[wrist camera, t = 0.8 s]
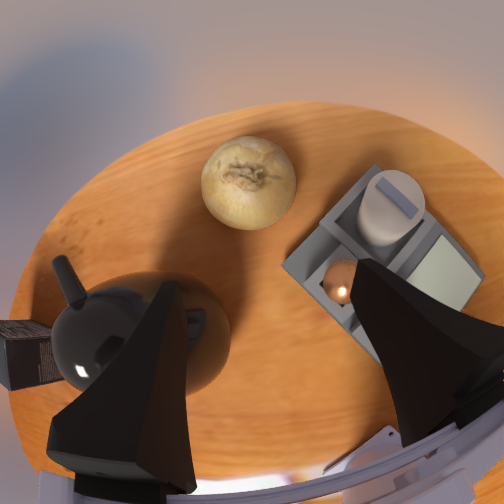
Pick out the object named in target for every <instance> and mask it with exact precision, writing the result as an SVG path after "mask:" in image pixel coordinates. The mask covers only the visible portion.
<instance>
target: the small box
mask: <svg viewBox="0 0 504 504" xmlns="http://www.w3.org/2000/svg"><path fill="white" fill-rule="evenodd" d="M51 331H52V328H51V327H48V326H45V325H43V324H40V323H38V322H35V321H33V320H0V383H1V384H2V385H3V386H4V387H5V388H7V389H8V390H9V391H10V392H11V391H16V390H21V389H26V388H31V387H36V386H40V385H45V384H50V383H54V382H58V381H63V380H65V379H64V378H63V376H62V375H61V374H60V372H59V371H58V369H57V367H56V365H55V363H54V360H53V357H52V353H51V346H50V337H51Z"/></svg>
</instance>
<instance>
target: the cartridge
mask: <svg viewBox="0 0 504 504" xmlns="http://www.w3.org/2000/svg"><path fill="white" fill-rule="evenodd" d="M424 211H425V198H424V194H423V192H422V190H421V188H420V186H419V184H418V183H417V182H416V181H415V180H414V179H413V178H412V177H411V176H409V175H408V174H406V173H404V172H401V171H397V170H386V171H382V172H380V173H378V174H376V175H375V176H374V177H373V178H372V179H371V180H370V182H369V184H368V186H367V188H366V191H365V194H364V197H363V199H362V202H361V205H360V207H359V210H358V213H357V216H356V221H355V224H356V230H357V232H358V235H359V236H360V238H361V239H362V240H363V241H364V242H365V243H366V244H368V245H369V246H371V247H374V248H386V247H389V246H391V245H392V244H394V243H395V242H396V241H398V240H399V239H400V238H401V237H402V236H404V235H405V234H406V233H407V232H409V231H410V230H411V229H412V228H413V227H415V226H416V225H417V224H418V223H419V222H420V220H421V219H422V217H423V214H424Z"/></svg>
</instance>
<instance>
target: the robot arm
mask: <svg viewBox="0 0 504 504" xmlns="http://www.w3.org/2000/svg"><path fill="white" fill-rule="evenodd" d="M349 297H350V300H351V303H352V305H353V308H354V311H355V313H356V316H357V318H358V320H359V322H360V324H361V325H362V327H363V329H364V331H365V333H366V335H367V337H368V339H369V341H370V342H371V344H372V346H373V348H374V350H375V352H376V354H377V356H378V358H379V360H380V362H381V365H382V367H383V370H384V373H385V376H386V378H387V381H388V384H389V388H390V391H391V394H392V398H393V401H394V405H395V409H396V414H397V418H398V424H399V429H400V433H398V432H397V431H396V430H395V429H394V428H393V427H392V426H391V425H387V426H385V427H384V428H383V429H381V430H380V431H379V432H378V433H377V434H375V435H374V436H373V437H372V438H370V439H369V440H368V441H367V442H365V443H364V444H363V445H361V446H360V447H359V448H357V449H356V450H355V451H353V452H352V453H351V454H349V455H348V456H346V457H345V458H344V459H342V460H341V461H339V462H338V463H336V464H335V465H333V466H332V467H330V468H329V469H327V470H326V471H324V472H323V477H321V478H317V479H313V480H309V481H305V482H301V483H296V484H291V485H286V486H281V487H275V488H269V489H263V490H255V491H247V492H238V493H227V494H211V495H178V494H191V493H193V492H194V491H195V490H196V488H197V484H196V479H195V474H194V468H193V462H192V456H191V449H190V441H189V432H188V423H187V411H186V370H187V354H188V324H187V315H186V311H185V307H184V303H183V299H182V295H181V291H180V287H179V282H178V280H175V281H164V282H162V283H161V284H160V286H159V288H158V290H157V292H156V294H155V295H154V297H153V299H152V301H151V303H150V305H149V306H148V308H147V310H146V312H145V313H144V315H143V317H142V318H141V320H140V322H139V323H138V325H137V327H136V328H135V330H134V331H133V333H132V334H131V336H130V337H129V339H128V340H127V342H126V343H125V345H124V346H123V347H122V349H121V350H120V351H119V353H118V354H117V355H116V357H115V358H114V359H113V360H112V362H111V363H110V364H109V365H108V366H107V368H106V369H105V370H104V371H103V372H102V373H101V375H100V376H99V377H98V378H97V379H96V380H95V381H94V382H93V383H92V384H91V385H90V386H89V387H88V388H87V389H86V390H85V391H84V392H83V393H82V394H81V395H80V396H79V397H77V398H76V399H75V400H74V401H73V402H72V403H70V404H69V405H68V406H67V407H65V408H64V409H63V410H62V411H60V412H59V413H58V414H57V415H55V416H54V417H53V418H52V421H51V425H50V430H49V437H48V443H47V450H46V454H47V455H48V457H49V458H50V459H52V460H53V461H55V462H56V463H58V464H60V465H62V466H63V467H65V468H67V469H69V470H71V471H73V472H75V480H74V479H71V478H68V477H65V476H61V475H58V474H54V473H50V472H47V471H44V470H41V471H40V479H39V492H38V504H292V503H297V502H301V501H306V500H310V499H314V498H318V497H322V496H325V495H329V494H332V493H336V492H339V491H341V492H342V499H343V504H472V503H473V502H474V500H475V497H476V493H475V491H474V488H473V485H475V484H476V483H477V482H478V481H479V480H480V479H481V478H482V477H483V476H484V475H485V474H486V473H488V472H489V471H490V470H491V469H492V468H493V467H494V466H495V465H496V464H497V463H498V461H499V460H500V459H501V458H502V457H503V456H504V381H503V379H504V372H503V370H504V327H503V326H498V325H494V324H491V323H488V322H485V321H482V320H479V319H476V318H474V317H471V316H469V315H466V314H464V313H462V312H459V311H457V310H455V309H453V308H451V307H449V306H447V305H445V304H443V303H441V302H439V301H438V300H436V299H434V298H432V297H431V296H429V295H427V294H426V293H424V292H423V291H421V290H419V289H418V288H416V287H415V286H413V285H412V284H410V283H409V282H407V281H406V280H404V279H403V278H401V277H400V276H398V275H397V274H395V273H394V272H392V271H391V270H389V269H388V268H386V267H385V266H383V265H382V264H380V263H378V262H377V261H375V260H373V259H372V258H366V259H358V262H357V266H356V271H355V275H354V279H353V284H352V288H351V292H350V296H349ZM390 432H393V434H391V435H389V433H390ZM428 454H430V455H429V458H428V459H426V458H425V457H424V456H426V455H428Z"/></svg>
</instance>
